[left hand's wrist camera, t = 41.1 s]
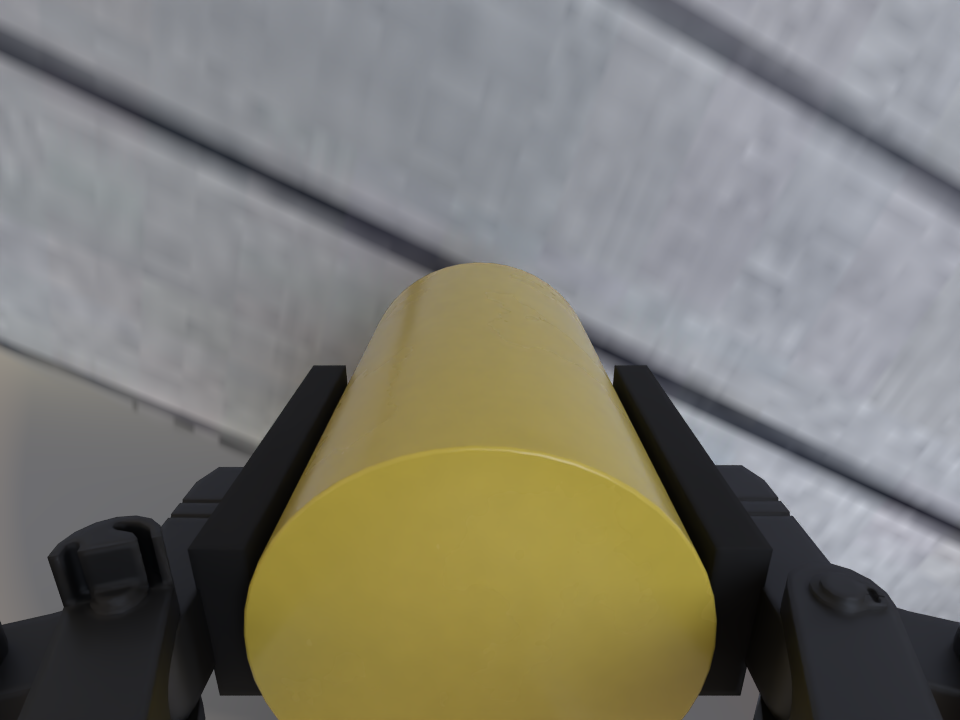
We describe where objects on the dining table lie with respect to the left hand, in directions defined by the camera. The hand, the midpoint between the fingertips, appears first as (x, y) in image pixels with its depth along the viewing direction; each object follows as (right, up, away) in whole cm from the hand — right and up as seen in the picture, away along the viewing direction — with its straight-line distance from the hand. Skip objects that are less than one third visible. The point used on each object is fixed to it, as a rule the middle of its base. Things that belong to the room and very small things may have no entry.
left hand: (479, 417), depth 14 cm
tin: (0, +1, +3) cm, 3 cm away
